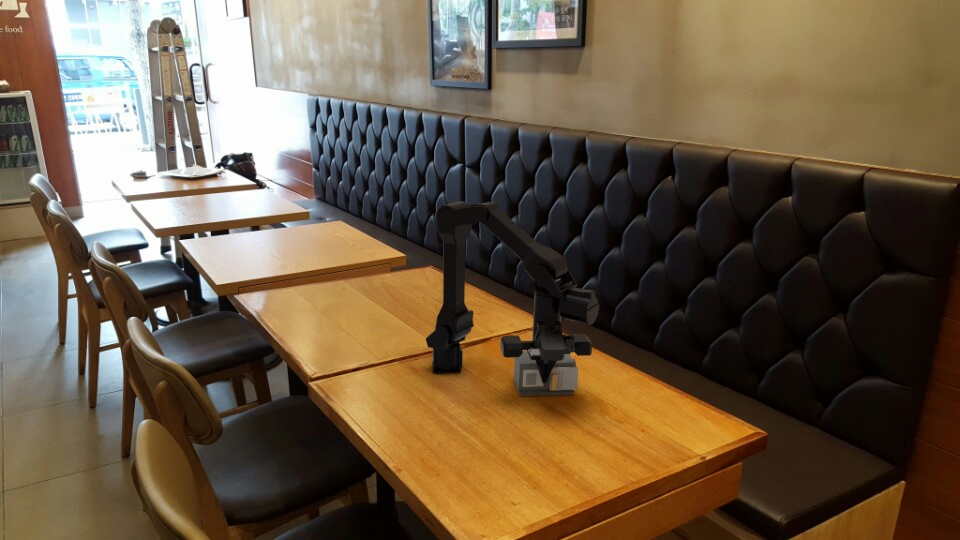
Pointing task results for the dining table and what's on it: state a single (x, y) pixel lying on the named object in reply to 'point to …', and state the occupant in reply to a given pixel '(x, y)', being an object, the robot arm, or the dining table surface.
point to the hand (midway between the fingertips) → (543, 382)
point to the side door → (563, 378)
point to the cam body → (536, 376)
